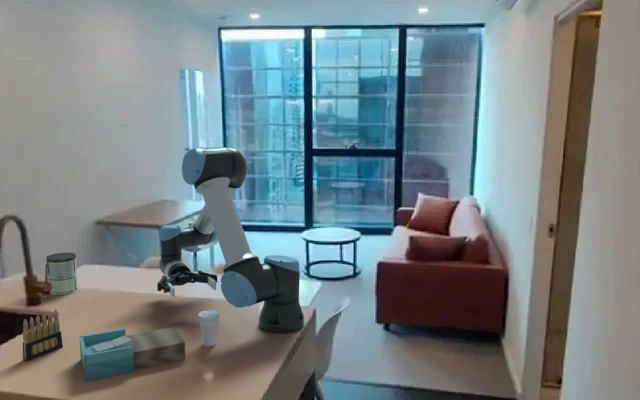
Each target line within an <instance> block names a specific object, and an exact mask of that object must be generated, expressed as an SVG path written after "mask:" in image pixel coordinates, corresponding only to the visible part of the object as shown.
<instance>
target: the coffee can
mask: <svg viewBox="0 0 640 400" xmlns="http://www.w3.org/2000/svg"><path fill="white" fill-rule="evenodd" d="M76 258H77V254H76V253H73V252H57V253H53V254H50V255H47V256H46V257H45V259H46V267H48V271H47V281H48V280H49V282H50V283H51V284H52V286H53V290H52V291H51V293H50V294H49V295H52V296H65V295H70V294H73V293H75V292H78V289H79V288H78V276H77V275H78V273H77V259H76Z"/></svg>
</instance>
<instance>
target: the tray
mask: <svg viewBox="0 0 640 400" xmlns="http://www.w3.org/2000/svg"><path fill="white" fill-rule="evenodd" d="M124 335H125V336H127V334H126V328H120V329H115V330H109V331H108V330H107V331H103V332H97V333H90V334H85V335H79V337H78V338H79V355H80V363H81V368H82V371H83V372H82V373H83V377H84V382H85V383H87V382H91V381H95V380H101V379H103V378H104V379H105V378H109V377H110V378H111V377H114V376H117V375H118V376H119V375H122V374H126V373H131V372H132V373H133V372H135V370H134V356H133V346H128V347H123V348H118V349H113V350H107V351H102V352H97V353H92V351H91V346H94V345H97V344H100V343H103V342H106V341H108V342H109V341H112V340H114V339H117V338H119V337H122V336H124Z"/></svg>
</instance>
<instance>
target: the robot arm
mask: <svg viewBox="0 0 640 400" xmlns="http://www.w3.org/2000/svg"><path fill="white" fill-rule="evenodd" d="M181 163H182V164H181V175H182V178H183V181H184V182H185V183H186V184H188V185H191V186H193V187H194V190H195V192H196V194H199V195H201V196H202V198H203V202H204V205H203V207H202V209H201V212H200V213H199V216H198V217H197V218H196V219H197V220H196V222H194V225H193V226H191V227H186V228H182V227H181V225H179V224H166V225H162V226H161V227H160V230H159V243H160V260H159V262H158V267H159V270H160V271H161V273H162V274H164V275H161V278H160V280H159V281H158V282H157V283H156V284H157V285H156V286H157V292H161V291H163V293H164V294H168V293H169V294H170V296H171V297H172V298H173V297H176V295H175V294H176V290H175V289H176V288H175V286H178V287H179V286H184V285H186V284H189V283H191V284H194V283H200V284H207V285H208V287H210V288H211V289H212V290H213V291H216V290H217V283H218V274H214V273H208V272H205V271H202V270H197V273H196V272H192V271H191V269H190V268H189V267H188V266H187V265H186V264H185V263H184V262H183V261H182V260H183V258H182V252H183V250H184V249H187V248H192V247H198V246H207V245H209V244H212V243H214V242H215V241H216V239H217V241H218V244H219V247H220V250H221V253H222V256H223V259H224V261H225V265H224V266H223V268H222V271H223V274H222V276H221V278H220V289H221V292H222V295H223V298H225V300H226V302H228V303H229V304H230V305H232V306H234V308H238V309H239V308H241V309H242V308H246V307H251V306H254V305H256V304H259V303H262V302H263V304H262V308H261V310H260V313H259V317H258V327H259V328H260V329H262V330H264V331H267V332H270V333H277V334H284V333H293V332H296V331H298V330H300V329H302V328H303V327H304V325H305V317H304V313H303V311H302V307H301V304H300V276H301V275H300V273H301V269H300V262H299V260H298V259H297V258H295V257H291V256H287V255H279V254H278V255H277V254H271V255H266V256H265V257H263V263H261V260H260V258H259V256H258V255H257V254H256V255H255V254H253V253H252V250H251V248H250V244H249V242H248V239H247V237H246V233H245V231H244V228H243V226H242V223H241V220H240V217H239V214H238V211H237V208H236V205H235V203H234V200H233V196H234V194H235V192H236V191H237V190H238V189H240V188H241V187H242V186H243V185H244V184H243V183H244V182H245V180H246V177H247V173H248V164H247V160H246V158H245V156H244V155H243V154H242V153H241V152H240V151H239V150H238V149H236V148H234V147H232V146H231V147H230V146H223V147H222V146H221V147H220V146H219V147H216V146H214V147H203V146H201V147H197V148H196V147H195V148H190V149H188V150H187V152H186V153H185V154H184V156H183V158H182V162H181Z"/></svg>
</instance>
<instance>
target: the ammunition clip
mask: <svg viewBox="0 0 640 400" xmlns="http://www.w3.org/2000/svg"><path fill="white" fill-rule="evenodd" d="M59 319H60V318H59V313H58V311H57V309H56V308H55V309H54V311H53V315H52V312H51V311H50V310H49V311H48V315H47V317H46V314H45V312H42V315H41V318H40V316H39V315H38V314H36V317H35V321H34V318H33V316H30V319H29V323H28V321H27V319H26V318H24V319H23V325H22V327H23V328H22V330H23V332H22V339H23V340H22V360H23V361H25V362H29V361H31V360H34V359H37V358H40V357H42V356H44V355H47V354H50V353H52V352H55V351H57V350H60V349H62V348H63V347H64V345H63V335H62V331H61V325H60V324H61V323H60V320H59Z"/></svg>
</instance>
